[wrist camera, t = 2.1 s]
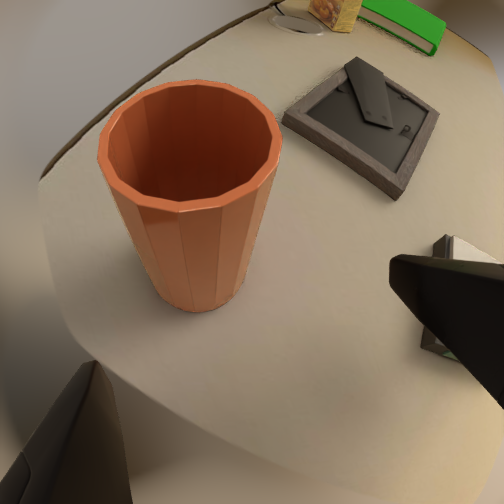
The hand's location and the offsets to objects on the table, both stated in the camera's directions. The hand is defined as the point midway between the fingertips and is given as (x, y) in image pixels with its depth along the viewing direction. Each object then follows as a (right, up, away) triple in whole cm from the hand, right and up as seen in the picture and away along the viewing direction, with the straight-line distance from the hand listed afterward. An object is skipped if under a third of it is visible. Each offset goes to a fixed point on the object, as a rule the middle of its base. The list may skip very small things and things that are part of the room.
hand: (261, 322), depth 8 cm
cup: (-4, +1, +14) cm, 15 cm away
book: (+33, +55, +44) cm, 78 cm away
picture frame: (+13, +17, +24) cm, 32 cm away
